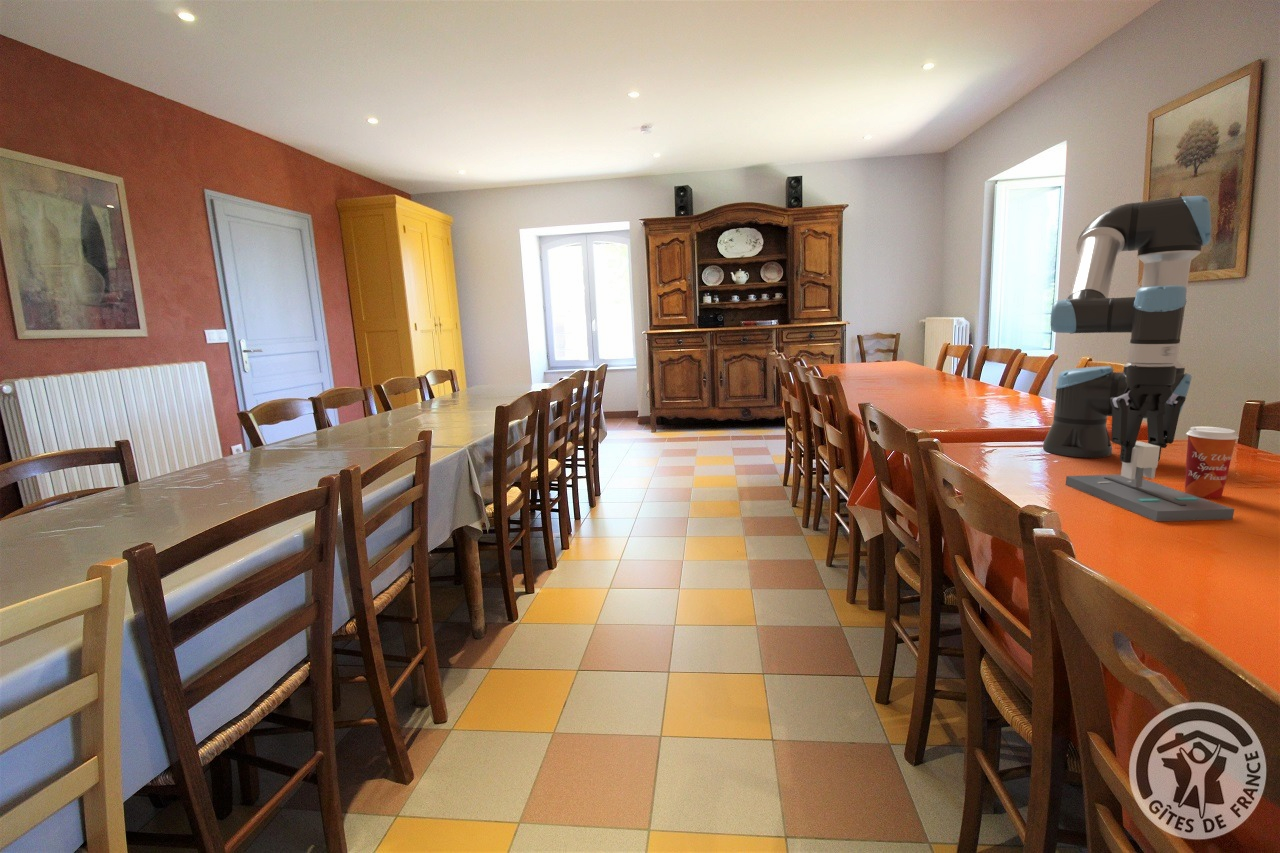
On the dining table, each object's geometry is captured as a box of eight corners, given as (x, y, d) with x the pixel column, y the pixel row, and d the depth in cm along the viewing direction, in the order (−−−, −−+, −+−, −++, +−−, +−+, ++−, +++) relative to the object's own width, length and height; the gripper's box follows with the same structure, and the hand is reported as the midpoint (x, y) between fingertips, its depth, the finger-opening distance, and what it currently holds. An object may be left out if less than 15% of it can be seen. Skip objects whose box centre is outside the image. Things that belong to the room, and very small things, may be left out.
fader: (1118, 483, 123) (1123, 441, 121) (1134, 482, 123) (1139, 441, 121) (1138, 490, 118) (1143, 447, 116) (1154, 489, 118) (1160, 446, 116)
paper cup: (1185, 497, 120) (1194, 431, 117) (1172, 487, 126) (1181, 425, 124) (1236, 502, 116) (1247, 434, 113) (1220, 491, 123) (1230, 426, 120)
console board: (1065, 484, 131) (1066, 475, 131) (1128, 482, 131) (1129, 473, 130) (1156, 521, 108) (1157, 510, 107) (1232, 519, 107) (1234, 507, 107)
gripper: (1124, 367, 112) (1111, 483, 116) (1211, 364, 111) (1194, 480, 116) (1095, 364, 119) (1084, 473, 124) (1176, 361, 119) (1162, 471, 123)
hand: (1137, 476), depth 120 cm, fingers closed on fader, 3 cm apart
